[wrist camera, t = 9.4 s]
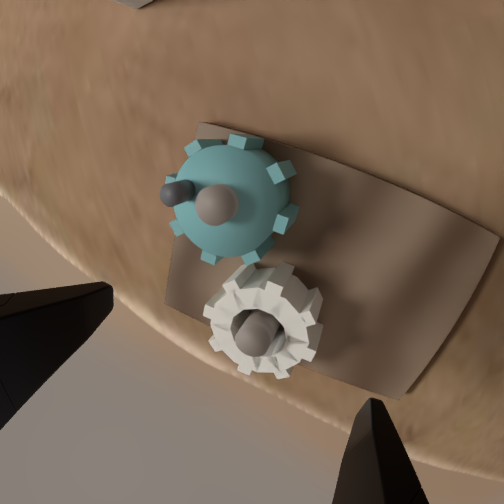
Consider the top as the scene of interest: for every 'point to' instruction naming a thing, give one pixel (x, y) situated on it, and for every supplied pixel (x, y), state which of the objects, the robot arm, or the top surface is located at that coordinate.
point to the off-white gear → (271, 301)
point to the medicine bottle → (133, 3)
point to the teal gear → (247, 189)
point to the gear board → (348, 268)
